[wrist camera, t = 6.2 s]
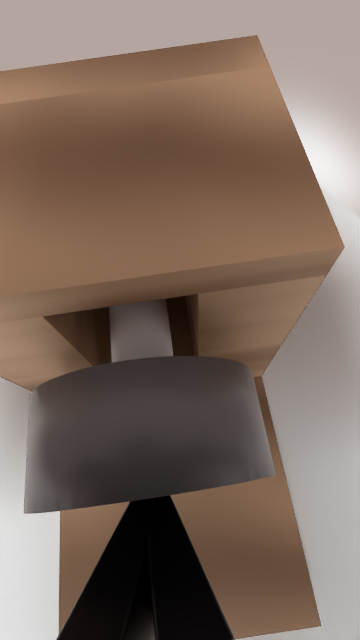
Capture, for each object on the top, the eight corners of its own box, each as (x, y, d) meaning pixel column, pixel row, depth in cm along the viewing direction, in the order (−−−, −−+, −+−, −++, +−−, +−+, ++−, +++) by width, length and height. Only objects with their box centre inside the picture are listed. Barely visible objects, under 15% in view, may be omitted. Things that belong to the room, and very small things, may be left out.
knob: (255, 472, 11) (308, 474, 6) (76, 499, 11) (-43, 527, 6) (211, 260, 15) (218, 136, 9) (75, 280, 15) (0, 167, 9)
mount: (312, 614, 12) (701, 1113, 3) (69, 651, 12) (-394, 1289, 3) (228, 255, 19) (257, 35, 9) (69, 278, 19) (-65, 80, 9)
